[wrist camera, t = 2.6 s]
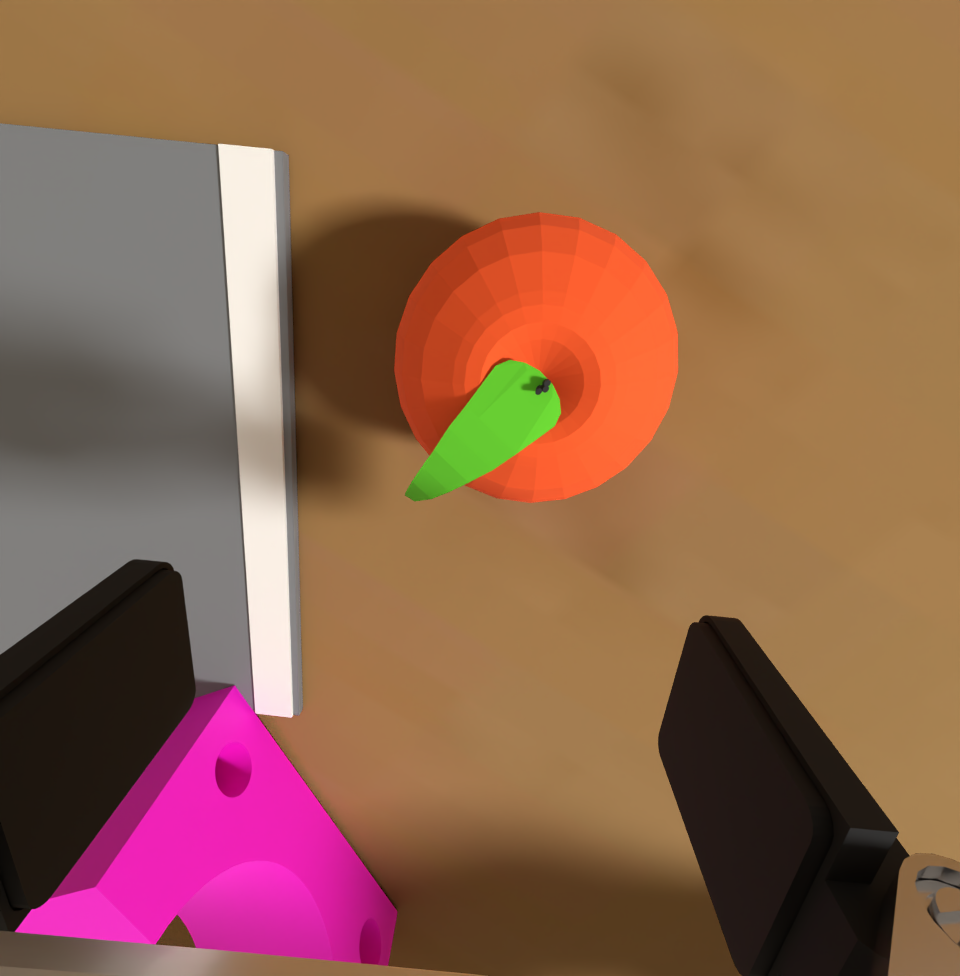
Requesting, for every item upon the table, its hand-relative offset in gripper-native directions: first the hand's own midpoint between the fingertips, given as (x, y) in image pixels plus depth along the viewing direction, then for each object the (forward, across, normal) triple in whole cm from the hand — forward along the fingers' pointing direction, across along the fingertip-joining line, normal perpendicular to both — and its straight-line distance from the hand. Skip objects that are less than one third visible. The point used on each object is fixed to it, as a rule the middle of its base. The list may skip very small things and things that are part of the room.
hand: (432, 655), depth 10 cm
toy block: (+9, +8, +17) cm, 21 cm away
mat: (+9, +13, 0) cm, 16 cm away
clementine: (+9, -1, -4) cm, 10 cm away
